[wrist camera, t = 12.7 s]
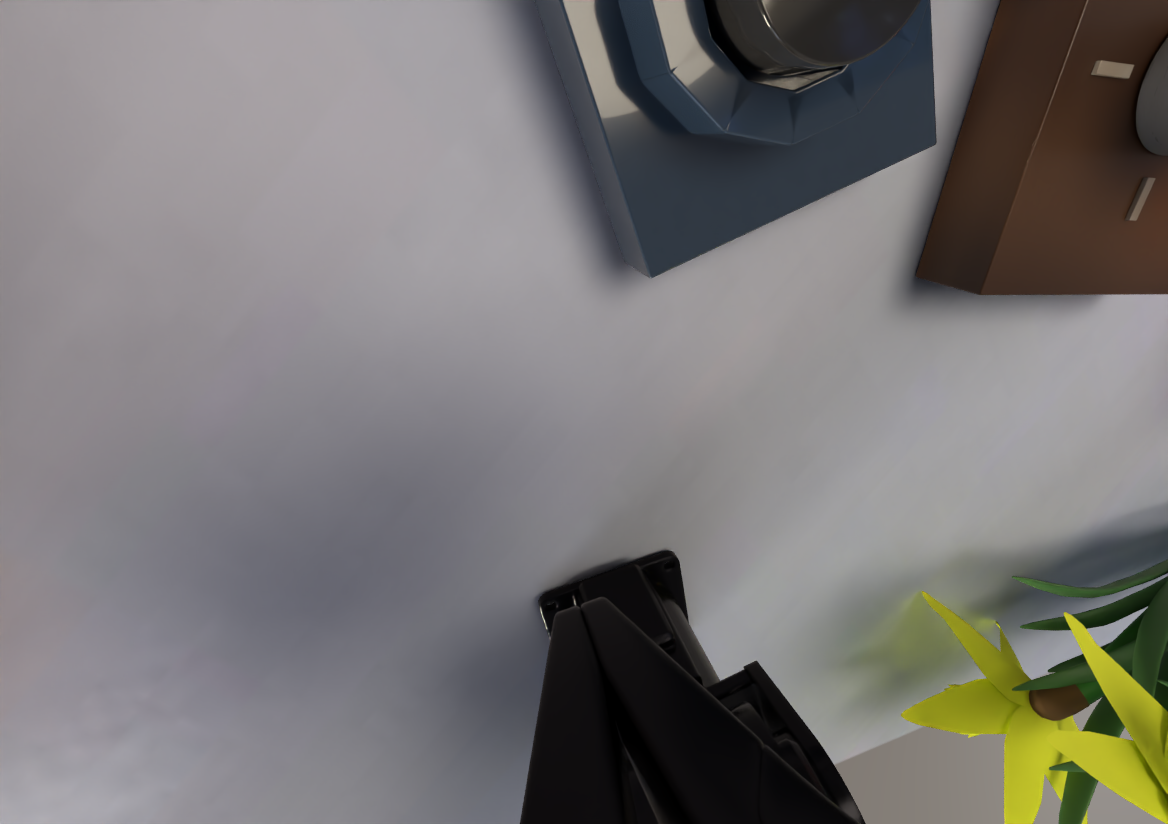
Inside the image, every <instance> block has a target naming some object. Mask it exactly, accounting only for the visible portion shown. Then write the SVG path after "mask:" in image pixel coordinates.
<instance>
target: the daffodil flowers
mask: <svg viewBox="0 0 1168 824" xmlns="http://www.w3.org/2000/svg"><path fill="white" fill-rule="evenodd" d="M1167 573H1168V560H1165V561H1163V562H1161V563H1159V564H1157V565H1155V566H1153V567H1151V568H1148V569H1146V570H1144V571H1142V572H1140V573H1138V574H1135V575H1133V576H1130V577H1128V578H1124V579H1121V580H1118V581H1115V582H1113V583H1110V584H1107V585H1104V586H1101V587H1072V586H1067V585H1061V584H1055V583H1049V582H1045V581H1040V580H1035V579H1030V578H1024V577H1016V576H1012V578H1014V579H1016V580H1018V581H1021V582H1023V583H1025V584H1028V585H1030V586H1032V587H1035V588H1037V589H1040V590H1043V591H1047V592H1050V593H1053V594H1057V595H1060V596H1064V597H1083V598H1094V597H1100V596H1105V595H1110V594H1114V593H1117V592H1120V591H1123V590H1125V589H1128V588H1131V587H1134V586H1137V585H1140V584H1143V583H1146V582H1148V581H1151V580H1153V579H1156V578H1158V577H1160V576H1162V575H1165V574H1167ZM922 594H923V596H924V598H925V599H926V601H927V602H928V604H929V605H930V606H931V607H932V608H933V609H934V610H935V611H936V612H937V613H938V614H939V615H940V616H941V617H942V618H943V619H944V620H945V621H946V622H947V624H948V625H949V627H950V628H951V629H952V631H953V632H954V634H955V635H956V636H957V638H958V639H959V641H960V642H961V643H962V645H963V646H964V648H965V649H966V650H967V652H968V653H969V655H970V656H971V657H972V659H973V660H974V662H975V663H976V664H977V666H978V667H979V669H980V670H981V671H982V673H983V674H984V675H985V676H986V677H987V679H977V680H974V681H971V682H968V683H965V684H963V685H956V684H954V685H949V686H950V688H946V689H944V690H946V691H944V692H941V693H939V694H937V695H934V696H932V697H930V698H927V699H926V700H924V701H922V702H920V703H918V704H916V705H914V706H912V707H911V708H909V709H907V710H905V711H904V712H903V713H902V714H901V716H902V717H903V718H904V719H906V720H908V721H910V722H913V723H915V724H918V725H922V726H926V727H931V728H936V729H941V730H945V731H950V732H956V733H960V734H969V736H968V738H969V737H972V736H977V735H979V734H1007V735H1006V738H1005V751H1004V752H1005V753H1004V755H1005V756H1004V816H1005V824H1033V822H1034V820H1035V817H1036V815H1037V812H1038V810H1039V807H1040V805H1041V800H1042V790H1043V782H1044V774H1045V775H1046V777H1047V779H1048V780H1049V782H1050V783H1051V785H1052V787H1053V788H1054V790H1055V792H1056V793H1057V795H1058V797H1059V798H1060V800H1061V801H1062V803H1061V808H1060V813H1059V824H1088V822H1087V808H1088V806H1089V804H1090V801H1091V798H1092V796H1093V793H1094V790H1095V788H1096V785H1097V783H1098V781H1100V782H1101V783H1103V784H1104V785H1105V786H1107V787H1108V788H1109V789H1111V790H1112V791H1114V792H1115V793H1117V794H1118V795H1120V796H1121V797H1123V798H1124V799H1126V800H1127V801H1129V802H1131V803H1133V804H1134V805H1136V806H1137V807H1139V808H1141V809H1142V810H1144V811H1146V812H1147V813H1149V814H1151V815H1152V816H1154V817H1156V818H1157V819H1159V820H1161V821H1162V822H1164V823H1166V824H1168V576H1167V577H1165V578H1164V579H1162V580H1160V581H1158V582H1156V583H1154V584H1153V585H1151V586H1149V587H1147V588H1145V589H1142V590H1140V591H1138V592H1136V593H1133V594H1131V595H1129V596H1127V597H1125V598H1123V599H1120V600H1118V601H1116V602H1114V603H1111V604H1108V605H1106V606H1103V607H1100V608H1096V609H1093V610H1089V611H1085V612H1082V613H1078V614H1073V615H1070V614H1068V613H1066V612H1064V616H1063V617H1058V618H1053V619H1047V620H1042V621H1037V622H1032V623H1029V624H1025V625H1022V626H1020V628H1024V629H1034V630H1071V631H1072V632H1073V634H1074V636H1075V638H1076V640H1077V642H1078V644H1079V646H1080V648H1081V650H1082V652H1083V654H1082V655H1079V656H1077V657H1074V658H1072V659H1070V660H1067V661H1065V662H1062V663H1060V664H1058V665H1056V666H1054V667H1052V668H1050V669H1049V670H1048V672H1056V673H1053V674H1049V675H1046V676H1043V677H1040V678H1037V679H1034V680H1031V679H1030V678H1029V677H1028V676H1027V675H1026V674H1025V673H1024V672H1023V670H1022V667H1021V665H1020V663H1019V661H1018V659H1017V657H1016V655H1015V653H1014V651H1013V650H1012V648H1011V646H1010V644H1009V642H1008V640H1007V638H1006V637H1005V635H1004V633H1003V631H1002V629H1001V627H1000V625H999V624H998V622H997V621H995V623H996V625H997V626H998V627H999V628H1000V647H1001V652H1000V651H999V650H998V649H997V648H996V647H994V646H993V645H992V644H991V643H990V642H989V641H988V640H986V639H985V638H984V637H983V636H982V635H981V634H979V633H978V632H977V631H976V630H975V629H974V628H972V627H971V626H970V625H969V624H968V623H966V622H965V621H964V620H963V619H961V618H960V617H959V616H957V615H956V614H955V613H953V612H952V611H951V610H949V609H948V608H946V607H945V606H944V605H942V604H941V603H939V602H938V601H937V600H935V599H934V598H933V597H931V596H930V595H929V594H927V593H925V592H924V591H922ZM1147 606H1148V608H1147V609H1146V610H1145V611H1144V612H1143V613H1142V614H1141V615H1140V616H1139V617H1138V618H1137V619H1136V620H1134V621H1133V622H1132V623H1131V624H1130V625H1129V626H1128V627H1127V628H1126V629H1125V630H1124V631H1123V632H1122V633H1121V634H1120V635H1119V636H1118V637H1117V638H1116V639H1115V640H1114V641H1113V642H1111V643H1108V644H1106V645H1104V646H1102V647H1099V646H1098V645H1097V644H1096V643H1095V641H1094V640H1093V638H1092V637H1091V636H1090V634H1089V633H1088V631H1087V630H1086V629H1088V628H1094V627H1099V626H1104V625H1107V624H1110V623H1113V622H1116V621H1118V620H1120V619H1122V618H1124V617H1126V616H1128V615H1130V614H1132V613H1134V612H1137V611H1139V610H1141V609H1143V608H1145V607H1147ZM1101 697H1102V699H1101V700H1100V701H1099V703H1098V705H1097V706H1096V707H1095V709H1094V711H1093V712H1092V714H1091V715H1090V717H1089V719H1088V721H1087V723H1086V725H1085V727H1084V729H1083V731H1079V729H1078V727H1077V726H1076V724H1075V722H1074V720H1073V715H1074V714H1076V713H1078V712H1080V711H1081V710H1083V709H1085V708H1086V707H1088V706H1089V705H1090V704H1092V703H1093V702H1095V701H1096V700H1098V699H1100V698H1101ZM1125 727H1126V729H1127V731H1128V732H1129V734H1130V736H1131V737H1132V739H1133V740H1134V741H1132V740H1127V739H1123V738H1119V737H1120V735H1121V733H1122V731H1123V729H1124V728H1125Z"/></svg>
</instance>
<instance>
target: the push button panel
mask: <svg viewBox="0 0 1168 824" xmlns="http://www.w3.org/2000/svg"><path fill="white" fill-rule="evenodd" d="M534 1H535V4H536V7H537V10H538V13H539V15H540V18H541V21H542V24H543V27H544V30H545V33H546V36H547V39H548V42H549V44H550V47H551V50H552V53H553V56H554V59H555V62H556V65H557V68H558V71H559V73H560V76H561V79H562V82H563V85H564V88H565V91H566V94H567V97H568V100H569V102H570V105H571V108H572V111H573V114H574V117H575V120H576V123H577V126H578V129H579V131H580V134H581V137H582V140H583V143H584V146H585V149H586V152H587V155H588V158H589V160H590V163H591V166H592V169H593V172H594V175H595V178H596V181H597V184H598V187H599V189H600V192H601V195H602V198H603V201H604V204H605V207H606V210H607V213H608V216H609V218H610V221H611V224H612V227H613V230H614V233H615V236H616V239H617V242H618V245H619V247H620V250H621V253H622V256H623V259H624V262H625V263H626V264H628V265H629V266H631V267H633V268H634V269H636V270H638V271H639V272H641V273H642V274H644V275H646V276H647V277H649V278H653V277H655V276H657V275H660V274H662V273H664V272H666V271H668V270H670V269H672V268H674V267H677V266H679V265H681V264H683V263H685V262H687V261H689V260H691V259H694V258H696V257H698V256H700V255H702V254H704V253H706V252H708V251H711V250H713V249H715V248H717V247H719V246H721V245H723V244H725V243H728V242H730V241H732V240H734V239H736V238H738V237H740V236H742V235H745V234H747V233H749V232H751V231H753V230H755V229H757V228H759V227H762V226H764V225H766V224H768V223H770V222H772V221H774V220H776V219H779V218H781V217H783V216H785V215H787V214H789V213H791V212H793V211H796V210H798V209H800V208H802V207H804V206H806V205H808V204H810V203H813V202H815V201H817V200H819V199H821V198H823V197H825V196H827V195H830V194H832V193H834V192H836V191H838V190H840V189H842V188H844V187H847V186H849V185H851V184H853V183H855V182H857V181H859V180H861V179H864V178H866V177H868V176H870V175H872V174H874V173H876V172H878V171H881V170H883V169H885V168H887V167H889V166H891V165H893V164H895V163H898V162H900V161H902V160H904V159H906V158H908V157H910V156H912V155H914V154H917V153H919V152H921V151H923V150H925V149H927V148H929V147H931V146H934V145H935V144H936V121H935V98H934V74H933V51H932V28H931V5H930V0H921V1H920V3H919V5H918V6H917V8H916V10H915V11H914V13H913V14H912V16H911V17H910V18H909V20H908V21H907V23H906V24H905V25H904V26H903V27H902V28H901V30H900V31H899V32H898V33H897V34H896V35H895V36H894V37H893V38H892V39H891V40H890V41H889V42H888V43H887V44H885V45H884V46H883V47H882V48H880V49H879V50H878V51H876V52H875V53H873V54H872V55H870V56H868V57H866V58H864V59H863V60H860V61H858V62H855V63H852V64H849V65H844V66H839V67H834V68H828V69H822V70H817V71H811V72H805V73H800V74H794V75H787V76H776V75H769V74H765V73H762V72H759V71H757V70H755V69H753V68H751V67H749V66H748V65H746V64H745V63H744V62H742V61H741V60H740V59H739V58H738V57H737V56H736V55H735V54H734V53H733V52H732V51H731V50H730V49H729V47H728V46H727V45H726V43H725V42H724V40H723V39H722V37H721V35H720V33H719V31H718V29H717V27H716V24H715V22H714V19H713V17H712V14H711V10H710V6H709V2H708V0H534Z"/></svg>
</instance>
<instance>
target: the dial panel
mask: <svg viewBox="0 0 1168 824" xmlns="http://www.w3.org/2000/svg"><path fill="white" fill-rule="evenodd" d="M1167 37H1168V0H1001V2H1000V5H999V8H998V11H997V15H996V18H995V21H994V24H993V28H992V31H991V34H990V37H989V41H988V44H987V47H986V50H985V54H984V57H983V60H982V63H981V66H980V70H979V73H978V76H977V79H976V83H975V86H974V89H973V92H972V96H971V99H970V102H969V105H968V109H967V112H966V115H965V118H964V121H963V125H962V128H961V131H960V134H959V138H958V141H957V144H956V147H955V151H954V154H953V157H952V160H951V163H950V167H949V170H948V173H947V176H946V180H945V183H944V186H943V189H942V193H941V196H940V199H939V202H938V206H937V209H936V212H935V215H934V218H933V222H932V225H931V228H930V231H929V235H928V238H927V241H926V244H925V248H924V251H923V254H922V257H921V261H920V264H919V267H918V270H917V273H916V277H917V278H920V279H924V280H928V281H931V282H935V283H938V284H942V285H946V286H949V287H953V288H956V289H960V290H963V291H967V292H971V293H974V294H978V295H1098V294H1168V156H1162V155H1157V154H1154V153H1152V152H1150V151H1149V150H1147V149H1146V148H1145V147H1144V146H1143V144H1142V143H1141V141H1140V139H1139V137H1138V133H1137V128H1136V108H1137V101H1138V97H1139V93H1140V89H1141V86H1142V83H1143V80H1144V78H1145V75H1146V73H1147V71H1148V68H1149V66H1150V64H1151V62H1152V60H1153V59H1154V57H1155V55H1156V53H1157V52H1158V50H1159V48H1160V47H1161V45H1162V44H1163V42H1164V41H1165V40H1166V38H1167Z"/></svg>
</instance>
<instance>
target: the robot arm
mask: <svg viewBox="0 0 1168 824" xmlns="http://www.w3.org/2000/svg"><path fill="white" fill-rule="evenodd" d="M668 561H670V562H669V563H667V564H665V563H666V562H668ZM552 602H554V603H552ZM538 603H539V608H540V612H541V615H542V618H543V621H544V624H545V627H546V629H547V632H548V635H549V638H550V645H549V651H548V657H547V663H546V669H545V675H544V681H543V687H542V693H541V699H540V705H539V711H538V717H537V723H536V729H535V735H534V741H533V747H532V753H531V760H530V766H529V772H528V778H527V784H526V790H525V796H524V802H523V808H522V814H521V820H520V824H865V822H864V819H863V817H862V815H861V813H860V811H859V809H858V807H857V805H856V803H855V801H854V799H853V797H852V796H851V793H850V792H849V790H848V788H847V786H846V785H845V783H844V781H843V779H842V777H841V776H840V774H839V772H838V771H837V769H836V768H835V766H834V764H833V763H832V761H831V759H830V758H829V756H828V755H827V753H826V752H825V750H824V749H823V747H822V746H821V744H820V743H819V742H818V740H817V739H816V737H815V736H814V735H813V733H812V732H811V731H810V729H809V728H808V727H807V726H806V724H805V723H804V722H803V720H802V719H801V718H800V716H799V715H798V714H797V713H796V711H795V710H794V709H793V707H792V706H791V705H790V703H789V702H788V701H787V699H786V698H785V697H784V696H783V694H782V693H781V692H780V690H779V689H778V688H777V686H776V685H775V684H774V683H773V681H772V680H771V679H770V677H769V676H768V675H767V673H766V672H765V671H764V670H763V668H762V667H761V666H760V664H759V663H758V662H757V661H754V662H752V663H750V664H748V665H746V666H744V670H742V671H740V672H738V673H736V674H734V675H732V676H730V677H727V678H725V679H723V680H721V681H720V680H719V678H718V676H717V674H716V672H715V670H714V669H713V667H712V665H711V663H710V661H709V659H708V658H707V656H706V654H705V652H704V650H703V649H702V647H701V645H700V643H699V641H698V639H697V638H696V636H695V634H694V632H693V630H692V629H691V627H690V625H689V621H688V614H687V608H686V601H685V595H684V588H683V582H682V575H681V569H680V562H679V560H678V558H677V556H676V555H675V553H673V552H672V551H665V552H662V553H659V554H656V555H653V556H650V557H647V558H644V559H642V560H639V561H636V562H633V563H630V564H627V565H624V566H621V567H618V568H616V569H613V570H610V571H607V572H604V573H601V574H598V575H595V576H592V577H590V578H587V579H584V580H581V581H578V582H575V583H572V584H569V585H566V586H564V587H561V588H558V589H555V590H552V591H549V592H546V593H544V594H543V595H542V596H541V597H540V598H539V600H538ZM549 603H552V604H550V605H547V604H549Z"/></svg>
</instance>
